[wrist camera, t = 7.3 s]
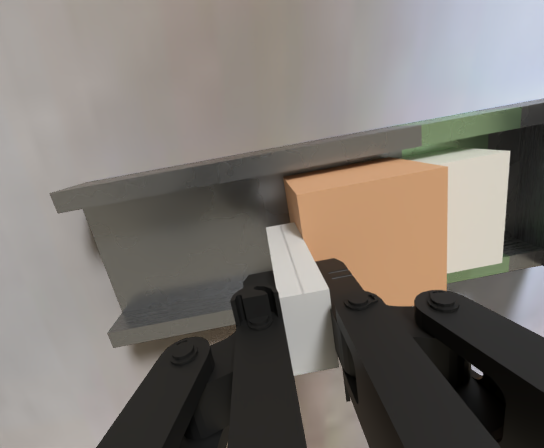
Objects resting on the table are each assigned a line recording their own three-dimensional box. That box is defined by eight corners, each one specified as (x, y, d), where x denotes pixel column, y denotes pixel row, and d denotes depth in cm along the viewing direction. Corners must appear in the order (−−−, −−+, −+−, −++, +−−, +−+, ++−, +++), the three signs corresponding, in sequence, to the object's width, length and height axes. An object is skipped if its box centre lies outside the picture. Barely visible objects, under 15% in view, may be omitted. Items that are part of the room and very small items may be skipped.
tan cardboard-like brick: (298, 273, 18) (316, 324, 13) (282, 176, 16) (296, 194, 11) (394, 255, 18) (446, 299, 13) (389, 156, 16) (448, 166, 11)
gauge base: (134, 314, 20) (72, 412, 13) (85, 182, 17) (-28, 216, 10) (539, 237, 20) (691, 291, 13) (556, 96, 17) (757, 71, 10)
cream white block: (392, 250, 18) (425, 277, 15) (387, 160, 16) (423, 167, 13) (454, 238, 18) (502, 262, 15) (456, 147, 17) (510, 150, 13)
